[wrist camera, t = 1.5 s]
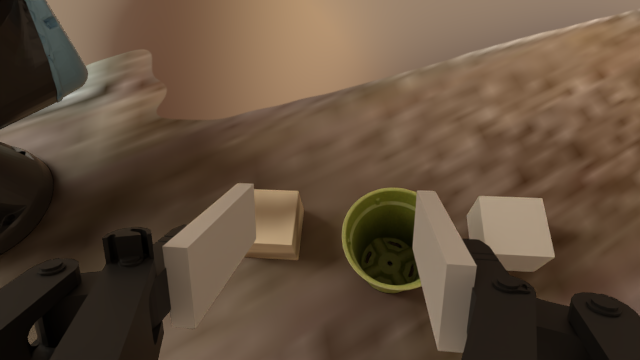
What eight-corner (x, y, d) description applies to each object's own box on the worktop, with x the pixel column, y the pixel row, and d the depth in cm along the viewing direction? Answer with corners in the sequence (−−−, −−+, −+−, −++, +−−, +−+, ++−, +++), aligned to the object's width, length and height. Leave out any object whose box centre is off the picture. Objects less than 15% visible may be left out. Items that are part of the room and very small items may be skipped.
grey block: (532, 272, 39) (555, 257, 34) (472, 268, 40) (486, 253, 35) (522, 218, 42) (542, 198, 37) (466, 215, 42) (479, 195, 38)
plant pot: (333, 294, 39) (328, 271, 32) (357, 214, 44) (357, 177, 36) (424, 322, 37) (441, 304, 30) (440, 235, 41) (458, 200, 34)
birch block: (298, 260, 42) (291, 245, 37) (245, 257, 42) (232, 241, 38) (304, 210, 44) (298, 190, 40) (254, 208, 45) (243, 188, 41)
